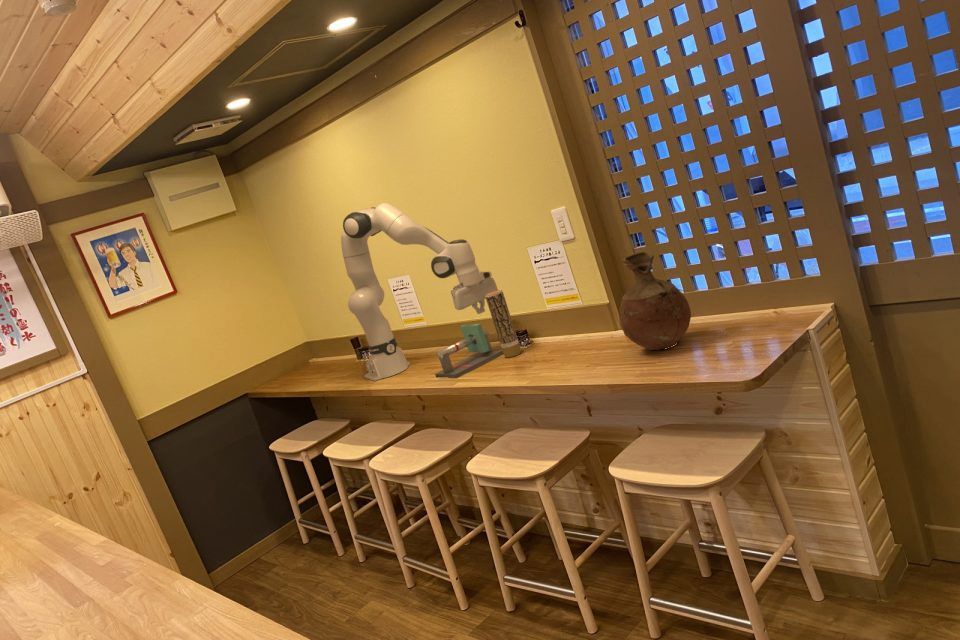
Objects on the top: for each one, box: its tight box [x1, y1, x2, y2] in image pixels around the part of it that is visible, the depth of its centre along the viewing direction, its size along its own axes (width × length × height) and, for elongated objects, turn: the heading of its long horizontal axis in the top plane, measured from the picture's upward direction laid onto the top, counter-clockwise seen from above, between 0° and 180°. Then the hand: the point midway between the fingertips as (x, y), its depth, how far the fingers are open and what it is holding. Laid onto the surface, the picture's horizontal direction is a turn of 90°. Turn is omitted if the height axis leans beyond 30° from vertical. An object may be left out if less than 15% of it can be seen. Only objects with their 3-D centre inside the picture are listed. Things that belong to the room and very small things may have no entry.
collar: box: [460, 323, 489, 354], centre depth 282 cm, size 11×2×11 cm, turn 38°
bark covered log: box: [485, 289, 522, 359], centre depth 273 cm, size 7×7×25 cm
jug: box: [619, 251, 692, 351], centre depth 224 cm, size 22×22×30 cm
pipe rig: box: [436, 328, 494, 373], centre depth 280 cm, size 4×24×9 cm, turn 128°
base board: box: [434, 349, 504, 379], centre depth 280 cm, size 14×24×2 cm, turn 128°
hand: (481, 312), depth 285 cm, fingers closed
